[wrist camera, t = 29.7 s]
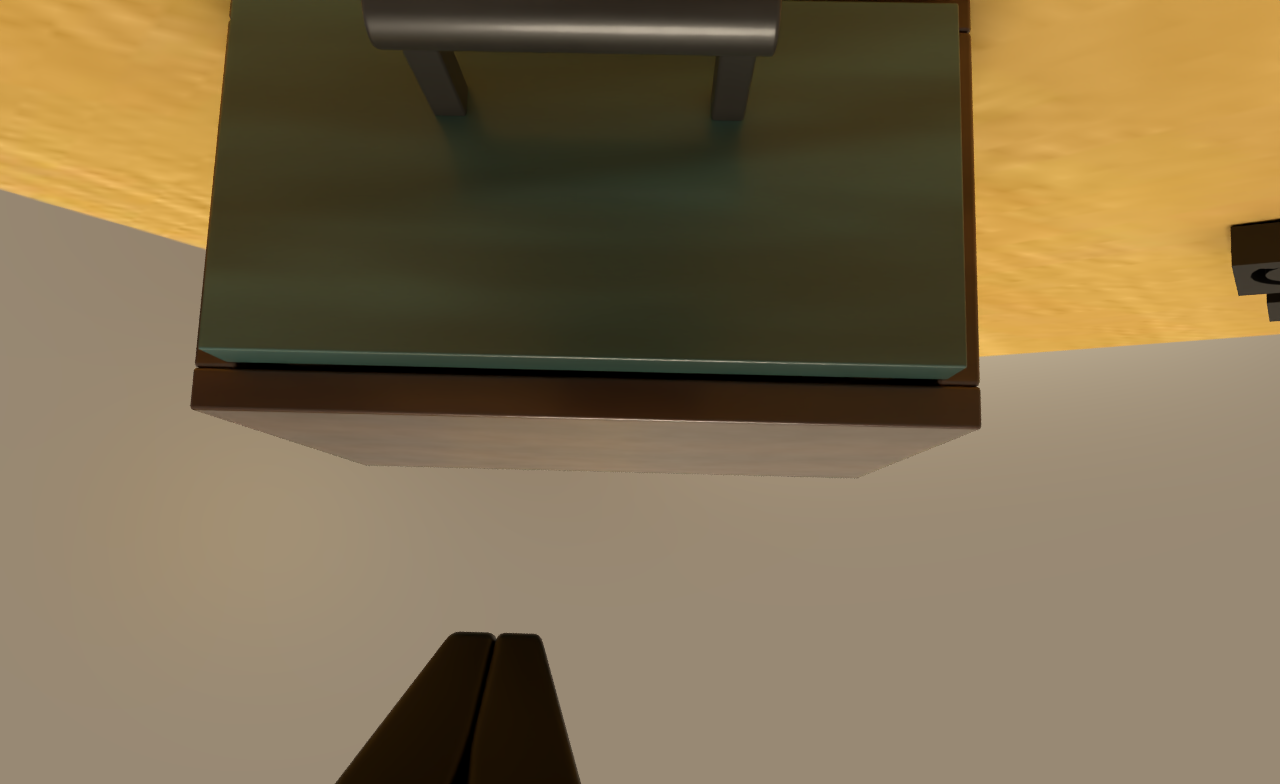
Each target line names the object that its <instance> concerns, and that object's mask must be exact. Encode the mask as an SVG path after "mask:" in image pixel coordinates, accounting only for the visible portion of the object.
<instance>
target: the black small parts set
mask: <svg viewBox="0 0 1280 784" xmlns="http://www.w3.org/2000/svg"><path fill="white" fill-rule="evenodd" d="M1231 255H1232V269H1233V273H1234V278H1235V282H1236V286H1237V291H1238V295H1239V296H1242V295H1256V294H1267V307H1268V314H1269V320H1270V322H1271V321H1280V222H1276V223H1266V224H1257V225H1247V226H1238V227H1231Z"/></svg>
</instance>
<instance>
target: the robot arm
mask: <svg viewBox="0 0 1280 784" xmlns="http://www.w3.org/2000/svg"><path fill="white" fill-rule="evenodd" d="M335 784H581V782H580V778H579V775H578V771H577V767H576V764H575V760H574V756H573V752H572V749H571V745H570V742H569V738H568V734H567V730H566V727H565V723H564V719H563V715H562V712H561V708H560V704H559V701H558V697H557V693H556V689H555V686H554V682H553V679H552V675H551V671H550V667H549V664H548V660H547V656H546V653H545V649H544V645H543V642H542V639H541V638H540V637H539V636H538V635H536V634H522V633H503V634H500V635H499V636H498V637H497V639H496V637H495V636H494V635H493V634H491V633H484V632H456V633H453V634H451V635H450V636H449V637H448V638H447V639H446V640H445V642H444V643H443V644H442V645H441V647H440V648H439V649H438V650H437V652H436V653H435V654H434V656H433V657H432V658H431V660H430V661H429V662H428V663H427V665H426V666H425V667H424V669H423V670H422V671H421V673H420V674H419V675H418V677H417V678H416V679H415V680H414V682H413V683H412V684H411V686H410V687H409V688H408V690H407V691H406V692H405V693H404V695H403V696H402V697H401V699H400V700H399V701H398V702H397V704H396V705H395V706H394V708H393V709H392V710H391V712H390V713H389V714H388V715H387V717H386V718H385V719H384V721H383V722H382V723H381V725H380V726H379V727H378V728H377V730H376V731H375V733H374V734H373V735H372V736H371V738H370V739H369V740H368V742H367V743H366V744H365V745H364V747H363V748H362V749H361V751H360V752H359V753H358V754H357V756H356V757H355V758H354V760H353V761H352V762H351V764H350V765H349V766H348V767H347V769H346V770H345V771H344V773H343V774H342V775H341V777H340V778H339V779H338V781H337V782H336V783H335Z"/></svg>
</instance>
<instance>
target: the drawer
mask: <svg viewBox="0 0 1280 784" xmlns="http://www.w3.org/2000/svg"><path fill="white" fill-rule="evenodd" d="M198 348H199V349H200V350H202V351H204V352H206V353H208V354H211V355H213V356H215V357H217V358H219V359H221V360H224V361H226V362H252V363H289V364H290V366H292V367H294V368H296V369H298V370H316V371H356V372H397V373H438V374H479V375H520V376H561V377H602V378H643V379H683V380H724V381H765V382H806V383H847V384H888V383H889V382H890V381H892V380H893V378H909V379H949V378H950V377H952V376H954V375H955V374H957V373H958V372H960V371H962V370H963V369H965V368H966V367H967V342H966V300H965V258H964V216H963V174H962V132H961V89H960V47H959V6H958V4H957V3H909V2H850V1H792V0H232V8H231V18H230V28H229V38H228V48H227V59H226V69H225V79H224V89H223V99H222V109H221V120H220V130H219V140H218V150H217V160H216V170H215V181H214V191H213V201H212V211H211V221H210V231H209V242H208V252H207V262H206V272H205V282H204V292H203V302H202V313H201V323H200V333H199V343H198Z"/></svg>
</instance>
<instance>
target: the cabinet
mask: <svg viewBox="0 0 1280 784" xmlns="http://www.w3.org/2000/svg"><path fill="white" fill-rule="evenodd" d="M792 1H850V2H909V3H957V4H958V6H959V47H960V89H961V132H962V174H963V216H964V258H965V300H966V342H967V367H966V368H965V369H963V370H962V371H960V372H958V373H957V374H955V375H954V376H952V377H950V378H949V379H909V378H893V380H892V381H890V382H889V383H888V384H847V383H806V382H765V381H724V380H683V379H643V378H602V377H561V376H520V375H479V374H438V373H397V372H356V371H316V370H298V369H296V368H294V367H292V366H290V364H289V363H252V362H226V361H224V360H221V359H219V358H217V357H215V356H213V355H211V354H208V353H206V352H204V351H202V350H200V349H199V348H198V343H199V333H200V323H201V313H202V302H203V292H204V282H205V272H206V262H207V252H208V242H209V231H210V221H211V211H212V201H213V191H214V181H215V170H216V160H217V150H218V140H219V130H220V120H221V109H222V99H223V89H224V79H225V69H226V59H227V48H228V38H229V28H230V21H229V24H228V34H227V44H226V54H225V65H224V75H223V85H222V95H221V105H220V115H219V125H218V136H217V146H216V156H215V166H214V176H213V186H212V196H211V207H210V217H209V227H208V237H207V247H206V257H205V268H204V278H203V288H202V298H201V309H200V318H199V328H198V338H197V348H196V359H195V364H196V366H197V367H199V368H196V369H194V375H193V385H192V395H191V405H190V406H191V409H193V410H196V411H199V412H202V413H205V414H208V415H211V416H214V417H217V418H221V419H224V420H227V421H230V422H233V423H236V424H239V425H242V426H245V427H248V428H252V429H254V430H258V431H261V432H264V433H267V434H270V435H273V436H276V437H279V438H282V439H286V440H289V441H292V442H295V443H298V444H301V445H304V446H307V447H310V448H314V449H317V450H320V451H323V452H326V453H329V454H332V455H335V456H339V457H341V458H345V459H348V460H351V461H354V462H357V463H360V464H363V465H368V466H370V465H371V466H407V467H445V468H483V469H522V470H559V471H561V470H562V471H597V472H635V473H673V474H675V473H676V474H712V475H713V474H714V475H749V476H787V477H789V476H790V477H825V478H859V477H861V476H864V475H866V474H869V473H871V472H874V471H876V470H879V469H881V468H884V467H886V466H889V465H891V464H893V463H896V462H899V461H901V460H903V459H906V458H909V457H911V456H914V455H916V454H919V453H921V452H924V451H926V450H929V449H931V448H933V447H936V446H939V445H941V444H944V443H946V442H948V441H951V440H953V439H956V438H958V437H961V436H963V435H966V434H968V433H971V432H973V431H976V430H978V429H980V428H981V397H980V388H978V387H976V386H978V385H979V382H980V373H979V334H978V295H977V256H976V217H975V179H974V140H973V101H972V62H971V36H970V34H969V32H970V30H971V20H970V0H792ZM231 8H232V0H231V4H230V14H229V16H230V18H231Z"/></svg>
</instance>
